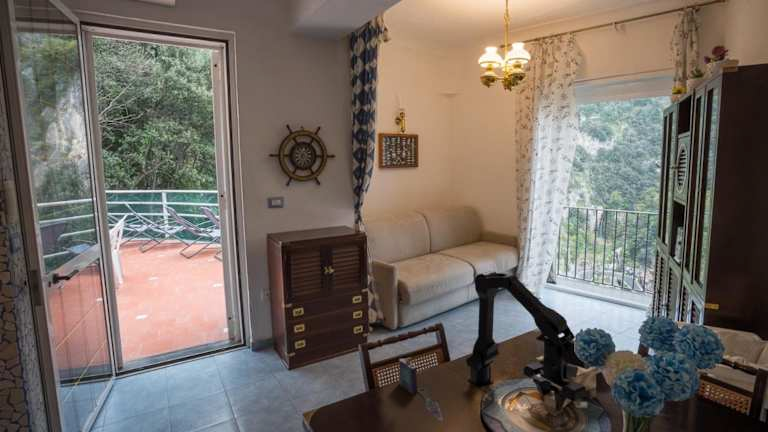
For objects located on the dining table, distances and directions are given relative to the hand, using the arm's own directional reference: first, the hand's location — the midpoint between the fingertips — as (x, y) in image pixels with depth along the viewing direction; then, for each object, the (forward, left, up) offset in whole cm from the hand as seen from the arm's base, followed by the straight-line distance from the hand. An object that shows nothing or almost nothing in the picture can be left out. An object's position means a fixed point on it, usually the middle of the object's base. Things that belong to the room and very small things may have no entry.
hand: (553, 407), depth 122 cm
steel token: (+11, -1, -2) cm, 11 cm away
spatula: (+6, +1, -1) cm, 7 cm away
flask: (-30, +35, -2) cm, 46 cm away
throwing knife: (-29, +23, -3) cm, 37 cm away
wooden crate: (+13, +7, -2) cm, 15 cm away
